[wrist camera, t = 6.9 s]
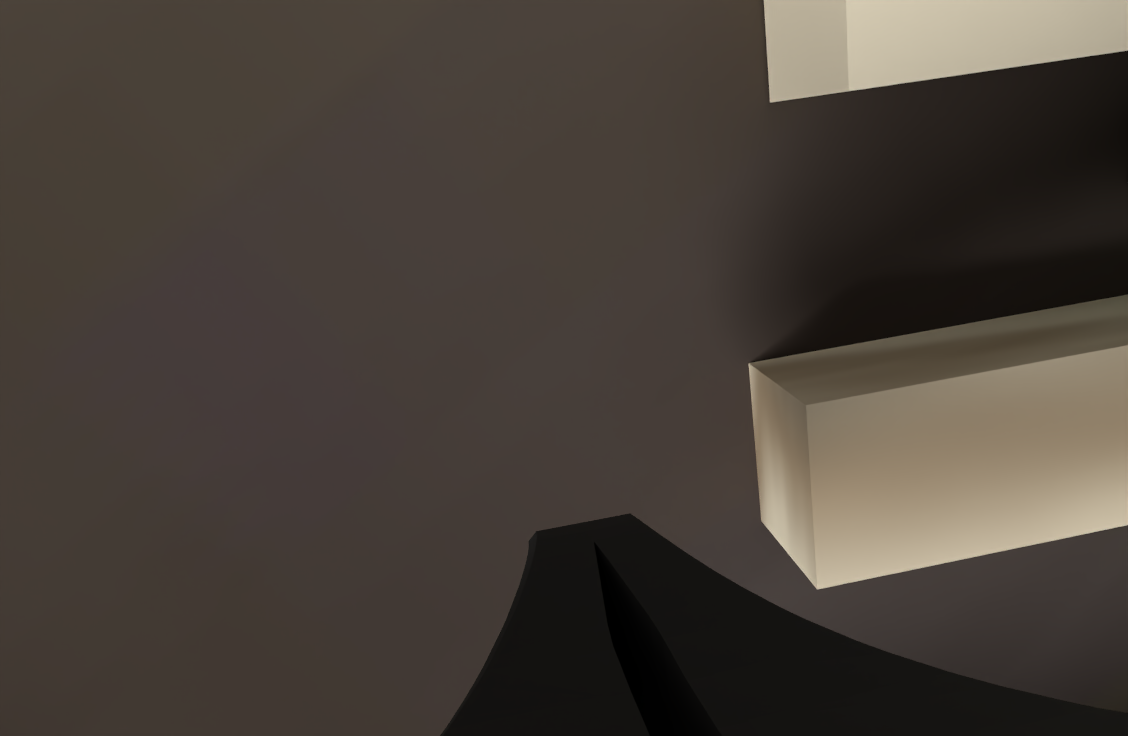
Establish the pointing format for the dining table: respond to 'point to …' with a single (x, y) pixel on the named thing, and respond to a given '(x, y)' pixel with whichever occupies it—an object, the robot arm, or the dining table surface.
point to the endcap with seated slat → (926, 39)
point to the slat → (945, 441)
